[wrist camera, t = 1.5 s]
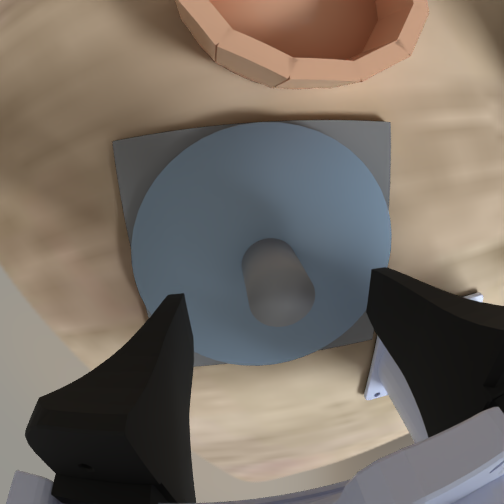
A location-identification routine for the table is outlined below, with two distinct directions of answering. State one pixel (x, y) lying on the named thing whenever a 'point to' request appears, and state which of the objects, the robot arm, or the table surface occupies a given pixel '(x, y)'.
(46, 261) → the table surface
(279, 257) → the lid
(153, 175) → the mat
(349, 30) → the bowl
